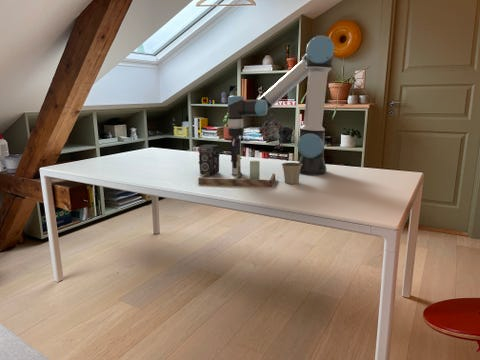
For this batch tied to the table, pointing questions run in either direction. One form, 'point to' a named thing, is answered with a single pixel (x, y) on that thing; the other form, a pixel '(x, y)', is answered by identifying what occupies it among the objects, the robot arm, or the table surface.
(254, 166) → the sage post
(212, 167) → the camera
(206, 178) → the rack
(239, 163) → the beech post
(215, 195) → the table surface
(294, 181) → the flower pot
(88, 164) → the table surface
